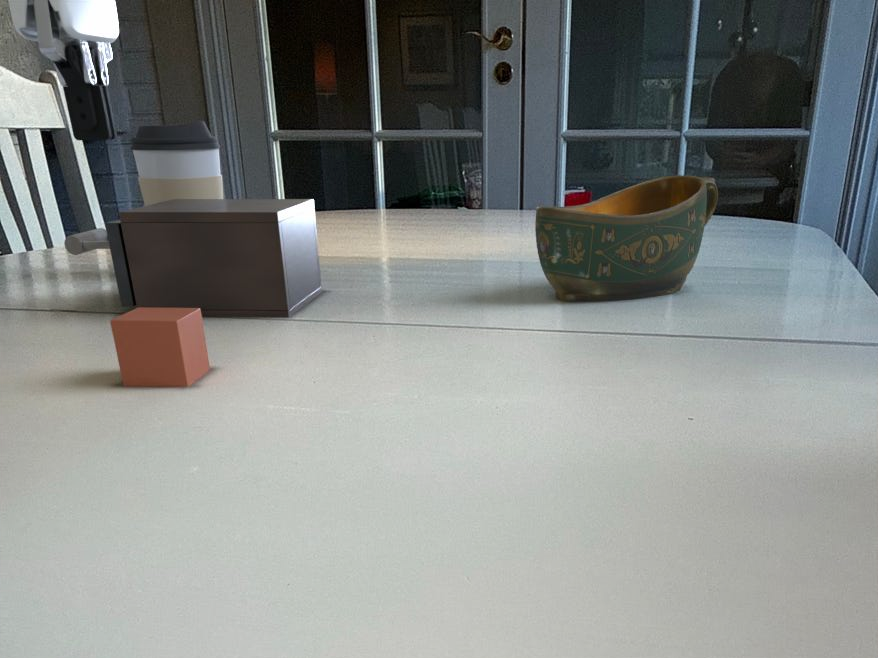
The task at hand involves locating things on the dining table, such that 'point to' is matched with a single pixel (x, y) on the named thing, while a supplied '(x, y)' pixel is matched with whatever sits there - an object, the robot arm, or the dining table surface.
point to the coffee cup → (177, 162)
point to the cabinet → (224, 255)
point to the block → (161, 346)
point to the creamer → (626, 240)
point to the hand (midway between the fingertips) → (96, 139)
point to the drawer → (116, 244)
